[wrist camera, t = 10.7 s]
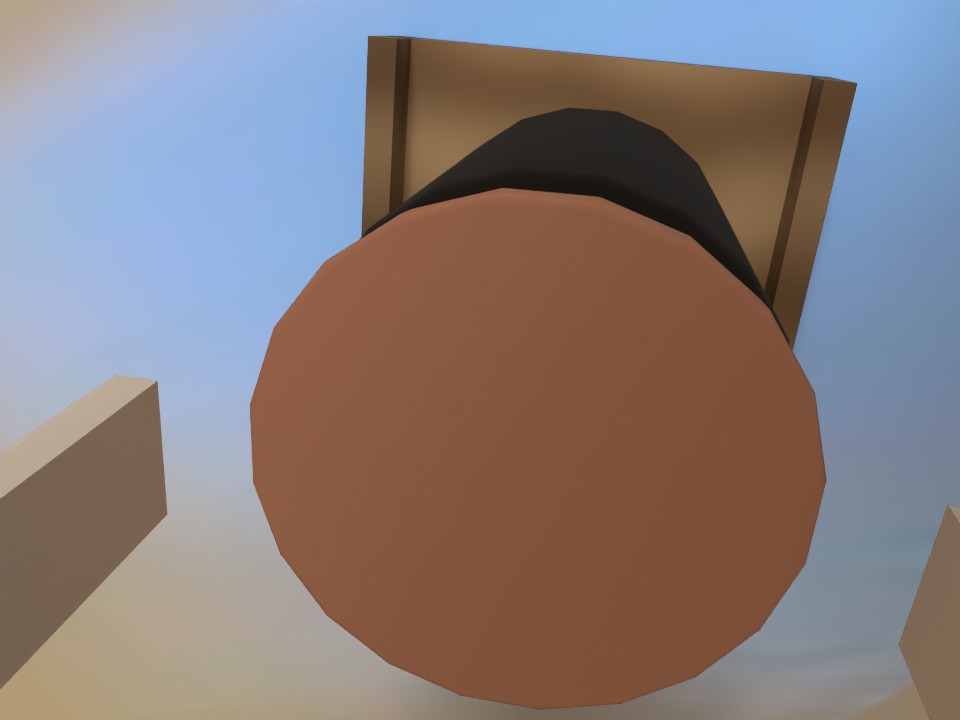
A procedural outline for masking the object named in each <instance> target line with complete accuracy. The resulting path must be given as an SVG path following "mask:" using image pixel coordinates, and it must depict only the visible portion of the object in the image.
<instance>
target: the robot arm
mask: <svg viewBox="0 0 960 720" xmlns="http://www.w3.org/2000/svg"><path fill="white" fill-rule="evenodd" d="M166 515H167V504H166V491H165V477H164V464H163V450H162V437H161V424H160V410H159V397H158V383H157V381H155V380H149V379H142V378H136V377H129V376H123V375H115V376H114V377H112V378H111V379H109V380H108V381H106V382H105V383H104V384H102V385H101V386H99V387H98V388H96V389H95V390H93V391H92V392H90V393H89V394H87V395H86V396H84V397H83V398H81V399H80V400H79V401H77V402H76V403H74V404H73V405H71V406H70V407H68V408H67V409H65V410H64V411H62V412H61V413H59V414H58V415H56V416H55V417H53V418H52V419H51V420H49V421H48V422H46V423H45V424H43V425H42V426H40V427H39V428H37V429H36V430H34V431H33V432H31V433H30V434H28V435H27V436H26V437H24V438H23V439H21V440H20V441H18V442H17V443H15V444H14V445H12V446H11V447H9V448H8V449H6V450H5V451H3V452H2V453H1V454H0V689H1V688H2V687H3V686H4V685H5V684H6V683H7V682H8V681H9V680H10V679H11V678H12V677H13V675H14V674H15V673H16V672H17V671H18V670H19V669H20V668H21V667H22V666H23V665H24V664H25V663H26V662H27V661H28V660H29V659H30V658H31V657H32V656H33V654H34V653H35V652H36V651H37V650H38V649H39V648H40V647H41V646H42V645H43V644H44V643H45V642H46V641H47V640H48V639H49V638H50V637H51V636H52V635H53V634H54V632H55V631H56V630H57V629H58V628H59V627H60V626H61V625H62V624H63V623H64V622H65V621H66V620H67V619H68V618H69V617H70V616H71V615H72V614H73V613H74V612H75V610H76V609H77V608H78V607H79V606H80V605H81V604H82V603H83V602H84V601H85V600H86V599H87V598H88V597H89V596H90V595H91V594H92V593H93V592H94V591H95V589H96V588H97V587H98V586H99V585H100V584H101V583H102V582H103V581H104V580H105V579H106V578H107V577H108V576H109V575H110V574H111V573H112V572H113V571H114V570H115V569H116V567H117V566H118V565H119V564H120V563H121V562H122V561H123V560H124V559H125V558H126V557H127V556H128V555H129V554H130V553H131V552H132V551H133V550H134V549H135V548H136V546H137V545H138V544H139V543H140V542H141V541H142V540H143V539H144V538H145V537H146V536H147V535H148V534H149V533H150V532H151V531H152V530H153V529H154V528H155V527H156V526H157V524H158V523H159V522H160V521H161V520H162V519H163V518H164V517H165V516H166ZM899 647H900V649H901V651H902V654H903V656H904V659H905V661H906V663H907V666H908V668H909V671H910V673H911V675H912V678H913V680H914V683H915V685H916V687H917V690H918V692H919V695H920V697H921V699H922V702H923V704H924V707H925V709H926V711H927V714H928V716H929V719H930V720H960V506H954V505H948V506H947V509H946V512H945V515H944V518H943V521H942V523H941V526H940V529H939V532H938V535H937V538H936V540H935V543H934V546H933V549H932V552H931V555H930V557H929V560H928V563H927V566H926V569H925V571H924V574H923V577H922V580H921V583H920V586H919V588H918V591H917V594H916V597H915V600H914V603H913V605H912V608H911V611H910V614H909V617H908V620H907V622H906V625H905V628H904V631H903V634H902V637H901V639H900V642H899Z"/></svg>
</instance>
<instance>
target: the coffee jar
mask: <svg viewBox="0 0 960 720" xmlns="http://www.w3.org/2000/svg"><path fill="white" fill-rule="evenodd" d="M250 419H251V441H252V464H253V483H254V486H255V488H256V491H257V494H258V496H259V499H260V502H261V504H262V507H263V509H264V512H265V515H266V517H267V520H268V523H269V525H270V528H271V531H272V533H273V536H274V538H275V541H276V544H277V546H278V549H279V552H280V554H281V555H282V557H283V558H284V559H285V561H286V562H287V563H288V565H289V566H290V567H291V569H292V570H293V571H294V573H295V574H296V575H297V577H298V578H299V579H300V581H301V582H302V583H303V584H304V586H305V587H306V588H307V590H308V591H309V592H310V594H311V595H312V596H313V598H314V599H315V600H316V602H317V603H318V604H319V606H320V607H321V608H322V610H323V611H324V612H325V614H326V615H327V616H328V617H330V618H331V619H332V620H333V621H335V622H336V623H337V624H339V625H340V626H341V627H342V628H344V629H345V630H346V631H348V632H349V633H350V634H351V635H353V636H354V637H355V638H357V639H358V640H359V641H360V642H362V643H363V644H364V645H366V646H367V647H368V648H369V649H371V650H372V651H373V652H375V653H376V654H377V655H378V656H380V657H381V658H382V659H384V660H385V661H386V662H387V663H389V664H391V665H393V666H396V667H398V668H400V669H402V670H405V671H407V672H409V673H411V674H414V675H416V676H418V677H420V678H423V679H425V680H427V681H430V682H432V683H434V684H436V685H439V686H441V687H443V688H445V689H448V690H450V691H452V692H454V693H457V694H459V695H461V696H467V697H472V698H478V699H484V700H489V701H495V702H501V703H506V704H512V705H518V706H523V707H529V708H535V709H553V708H567V707H580V706H594V705H608V704H620V703H623V702H626V701H629V700H632V699H635V698H637V697H640V696H643V695H646V694H649V693H652V692H654V691H657V690H660V689H663V688H666V687H669V686H671V685H674V684H677V683H680V682H683V681H686V680H688V679H691V678H694V677H696V676H698V675H699V674H700V673H702V672H703V671H704V670H706V669H707V668H708V667H710V666H711V665H712V664H714V663H715V662H717V661H718V660H719V659H721V658H722V657H723V656H725V655H726V654H727V653H729V652H730V651H732V650H733V649H734V648H736V647H737V646H738V645H740V644H741V643H742V642H744V641H745V640H746V639H748V638H749V637H751V636H752V635H753V634H755V633H756V632H757V631H759V630H760V629H761V627H762V626H763V624H764V623H765V621H766V620H767V618H768V617H769V616H770V614H771V613H772V611H773V610H774V608H775V607H776V606H777V604H778V603H779V601H780V600H781V598H782V597H783V595H784V594H785V593H786V591H787V590H788V588H789V587H790V585H791V584H792V582H793V581H794V580H795V578H796V577H797V575H798V574H799V572H800V571H801V569H802V568H803V567H804V565H805V563H806V560H807V556H808V552H809V548H810V544H811V540H812V536H813V532H814V528H815V524H816V520H817V516H818V512H819V508H820V504H821V500H822V496H823V492H824V488H825V483H826V474H825V466H824V458H823V451H822V443H821V436H820V428H819V421H818V413H817V405H816V398H815V392H814V390H813V389H812V387H811V385H810V383H809V381H808V379H807V378H806V376H805V374H804V372H803V370H802V368H801V366H800V365H799V363H798V361H797V359H796V357H795V355H794V353H793V352H792V350H791V348H790V344H789V339H788V337H787V335H786V333H785V331H784V329H783V327H782V325H781V323H780V321H779V319H778V317H777V315H776V313H775V311H774V309H773V307H772V305H771V303H770V302H769V300H768V298H767V296H766V294H765V292H764V290H763V288H762V286H761V284H760V282H759V280H758V278H757V276H756V274H755V272H754V270H753V268H752V266H751V264H750V262H749V260H748V258H747V256H746V254H745V252H744V250H743V248H742V246H741V244H740V243H739V241H738V239H737V237H736V235H735V233H734V231H733V229H732V227H731V225H730V223H729V221H728V219H727V217H726V215H725V213H724V211H723V209H722V207H721V205H720V203H719V201H718V200H717V198H716V196H715V194H714V192H713V190H712V188H711V187H710V185H709V183H708V181H707V179H706V177H705V175H704V174H703V172H702V170H701V168H700V166H699V164H698V163H697V162H696V161H695V160H694V159H693V158H692V157H691V156H689V155H688V154H687V153H686V152H685V151H684V150H683V149H682V148H681V147H680V146H678V145H677V144H676V143H675V142H674V141H673V140H672V139H671V138H670V137H669V136H668V135H666V134H665V133H664V132H663V131H662V130H659V129H657V128H655V127H653V126H650V125H648V124H646V123H643V122H641V121H639V120H636V119H634V118H632V117H629V116H627V115H625V114H622V113H620V112H618V111H607V110H594V109H582V108H565V109H561V110H557V111H553V112H549V113H545V114H541V115H537V116H533V117H529V118H525V119H521V120H520V121H518V122H517V123H515V124H514V125H512V126H510V127H509V128H507V129H506V130H504V131H503V132H501V133H499V134H498V135H496V136H495V137H493V138H492V139H490V140H488V141H487V142H485V143H484V144H482V145H481V146H479V147H478V148H477V149H475V150H474V151H473V152H471V153H470V154H469V155H467V156H466V157H465V158H463V159H462V160H460V161H459V162H458V163H456V164H455V165H454V166H452V167H451V168H450V169H448V170H447V171H446V172H444V173H443V174H441V175H440V176H439V177H437V178H436V179H435V180H433V181H432V182H431V183H429V184H428V185H427V186H425V187H424V188H422V189H421V190H420V191H418V192H417V193H416V194H414V195H413V196H412V197H410V198H409V199H408V200H406V201H405V202H403V203H402V204H401V205H399V206H398V207H397V208H395V209H394V210H393V211H391V212H390V213H389V214H387V215H386V216H384V217H383V218H382V219H380V220H379V221H378V222H376V223H375V224H374V225H372V226H371V227H370V228H368V229H367V231H366V232H365V233H364V235H363V236H362V237H361V238H360V240H358V241H357V242H355V243H354V244H352V245H350V246H349V247H347V248H346V249H344V250H342V251H341V252H339V253H338V254H336V255H335V256H333V257H331V258H330V259H328V260H327V261H325V262H324V263H323V265H322V266H321V267H320V269H319V270H318V271H317V272H316V274H315V275H314V276H313V278H312V279H311V280H310V282H309V283H308V284H307V285H306V287H305V288H304V289H303V291H302V292H301V293H300V295H299V296H298V297H297V298H296V300H295V301H294V302H293V304H292V305H291V306H290V307H289V309H288V310H287V311H286V313H285V314H284V315H283V317H282V318H281V319H280V320H279V322H278V323H277V324H276V326H275V327H274V329H273V332H272V335H271V339H270V342H269V345H268V348H267V352H266V355H265V358H264V361H263V364H262V368H261V371H260V374H259V377H258V381H257V384H256V387H255V390H254V394H253V397H252V400H251V403H250Z"/></svg>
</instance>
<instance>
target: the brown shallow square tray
mask: <svg viewBox="0 0 960 720" xmlns="http://www.w3.org/2000/svg"><path fill="white" fill-rule="evenodd" d="M856 86H857V83H854V82H849V81H845V80H840V79H836V78H831V77H822V76H812V75H801V74H791V73H781V72H770V71H760V70H749V69H739V68H728V67H718V66H707V65H697V64H687V63H676V62H666V61H655V60H645V59H634V58H624V57H613V56H603V55H593V54H582V53H572V52H561V51H551V50H540V49H530V48H520V47H509V46H499V45H488V44H478V43H467V42H457V41H446V40H436V39H426V38H415V37H405V36H368V56H367V87H366V118H365V148H364V179H363V209H362V236H363V235H364V233H365V232H366V231H367V229H368V228H370V227H371V226H372V225H374V224H375V223H376V222H378V221H379V220H380V219H382V218H383V217H384V216H386V215H387V214H389V213H390V212H391V211H393V210H394V209H395V208H397V207H398V206H399V205H401V204H402V203H403V202H405V201H406V200H408V199H409V198H410V197H412V196H413V195H414V194H416V193H417V192H418V191H420V190H421V189H422V188H424V187H425V186H427V185H428V184H429V183H431V182H432V181H433V180H435V179H436V178H437V177H439V176H440V175H441V174H443V173H444V172H446V171H447V170H448V169H450V168H451V167H452V166H454V165H455V164H456V163H458V162H459V161H460V160H462V159H463V158H465V157H466V156H467V155H469V154H470V153H471V152H473V151H474V150H475V149H477V148H478V147H479V146H481V145H482V144H484V143H485V142H487V141H488V140H490V139H492V138H493V137H495V136H496V135H498V134H499V133H501V132H503V131H504V130H506V129H507V128H509V127H510V126H512V125H514V124H515V123H517V122H518V121H520V120H521V119H525V118H529V117H533V116H537V115H541V114H545V113H549V112H553V111H557V110H561V109H565V108H582V109H594V110H607V111H618V112H620V113H622V114H625V115H627V116H629V117H632V118H634V119H636V120H639V121H641V122H643V123H646V124H648V125H650V126H653V127H655V128H657V129H659V130H662V131H663V132H664V133H665V134H666V135H668V136H669V137H670V138H671V139H672V140H673V141H674V142H675V143H676V144H677V145H678V146H680V147H681V148H682V149H683V150H684V151H685V152H686V153H687V154H688V155H689V156H691V157H692V158H693V159H694V160H695V161H696V162H697V163H698V164H699V166H700V168H701V170H702V172H703V174H704V175H705V177H706V179H707V181H708V183H709V185H710V187H711V188H712V190H713V192H714V194H715V196H716V198H717V200H718V201H719V203H720V205H721V207H722V209H723V211H724V213H725V215H726V217H727V219H728V221H729V223H730V225H731V227H732V229H733V231H734V233H735V235H736V237H737V239H738V241H739V243H740V244H741V246H742V248H743V250H744V252H745V254H746V256H747V258H748V260H749V262H750V264H751V266H752V268H753V270H754V272H755V274H756V276H757V278H758V280H759V282H760V284H761V286H762V288H763V290H764V292H765V294H766V296H767V298H768V300H769V302H770V303H771V305H772V307H773V309H774V311H775V313H776V315H777V317H778V319H779V321H780V323H781V325H782V327H783V329H784V331H785V333H786V335H787V337H788V339H789V344H790V348H791V350H793V346H794V342H795V337H796V333H797V329H798V325H799V321H800V317H801V313H802V309H803V305H804V300H805V296H806V292H807V288H808V284H809V280H810V276H811V272H812V267H813V263H814V259H815V255H816V251H817V247H818V243H819V239H820V235H821V230H822V226H823V222H824V218H825V214H826V210H827V206H828V202H829V198H830V193H831V189H832V185H833V181H834V177H835V173H836V169H837V165H838V160H839V156H840V152H841V148H842V144H843V140H844V136H845V132H846V128H847V123H848V119H849V115H850V111H851V107H852V103H853V99H854V95H855V91H856Z"/></svg>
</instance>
